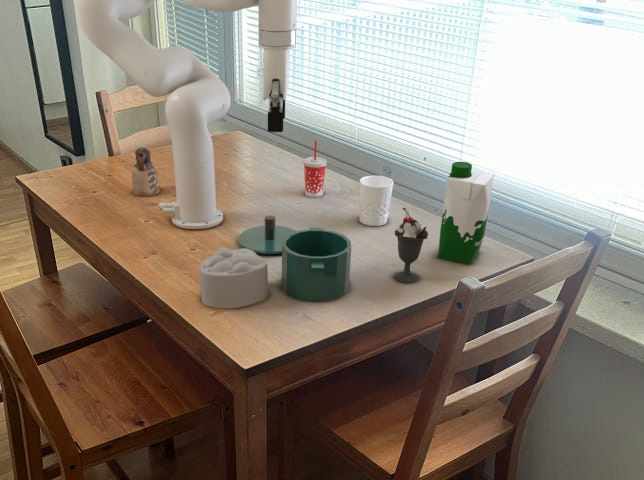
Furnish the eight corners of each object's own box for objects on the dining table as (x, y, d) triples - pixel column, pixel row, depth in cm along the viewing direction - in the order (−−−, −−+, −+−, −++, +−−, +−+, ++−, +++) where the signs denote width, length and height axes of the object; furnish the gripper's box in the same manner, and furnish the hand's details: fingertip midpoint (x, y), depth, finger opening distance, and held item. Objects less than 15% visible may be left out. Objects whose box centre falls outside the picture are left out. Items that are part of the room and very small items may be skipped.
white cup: (388, 228, 171) (392, 188, 166) (355, 226, 172) (358, 185, 167) (390, 215, 178) (394, 176, 172) (358, 213, 179) (361, 174, 173)
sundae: (386, 271, 152) (392, 204, 144) (417, 269, 153) (425, 202, 144) (393, 285, 147) (401, 216, 139) (426, 284, 147) (435, 215, 139)
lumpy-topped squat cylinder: (273, 297, 143) (273, 258, 139) (215, 314, 138) (213, 274, 133) (247, 277, 151) (246, 239, 146) (192, 292, 145) (189, 253, 141)
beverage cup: (307, 188, 194) (309, 136, 186) (328, 191, 192) (331, 139, 184) (298, 196, 189) (299, 142, 182) (320, 199, 187) (322, 145, 179)
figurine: (162, 187, 196) (158, 143, 189) (155, 197, 190) (150, 152, 183) (137, 186, 197) (132, 142, 190) (129, 195, 191) (124, 151, 184)
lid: (236, 256, 159) (235, 230, 156) (240, 229, 172) (239, 205, 168) (302, 256, 159) (302, 230, 155) (301, 230, 171) (302, 205, 167)
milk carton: (444, 243, 164) (456, 157, 152) (484, 251, 160) (500, 163, 149) (432, 258, 157) (444, 169, 146) (473, 267, 153) (489, 176, 142)
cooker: (281, 308, 140) (281, 264, 135) (282, 264, 156) (282, 223, 150) (351, 309, 139) (354, 264, 134) (345, 265, 155) (348, 224, 150)
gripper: (261, 30, 151) (261, 113, 161) (255, 46, 137) (256, 136, 147) (297, 31, 151) (295, 114, 161) (294, 47, 137) (292, 137, 146)
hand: (276, 124), depth 154 cm, fingers open, 9 cm apart
